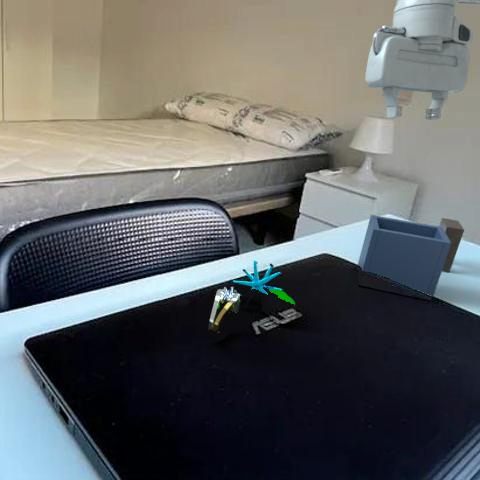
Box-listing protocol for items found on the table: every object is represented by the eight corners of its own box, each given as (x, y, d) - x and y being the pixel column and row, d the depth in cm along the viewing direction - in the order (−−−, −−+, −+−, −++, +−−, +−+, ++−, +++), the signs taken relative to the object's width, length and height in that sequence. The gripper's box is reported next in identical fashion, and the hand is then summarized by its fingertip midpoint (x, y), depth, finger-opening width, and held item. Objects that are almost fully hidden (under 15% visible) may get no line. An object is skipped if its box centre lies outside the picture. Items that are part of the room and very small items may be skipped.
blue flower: (221, 284, 80) (256, 249, 79) (239, 294, 86) (271, 261, 84) (271, 338, 73) (309, 301, 72) (286, 345, 78) (322, 311, 77)
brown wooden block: (444, 261, 102) (458, 220, 99) (449, 272, 97) (464, 229, 94) (428, 258, 103) (441, 217, 99) (432, 269, 98) (446, 226, 95)
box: (424, 282, 92) (442, 227, 88) (431, 301, 85) (451, 243, 81) (356, 268, 96) (370, 214, 91) (357, 286, 89) (373, 229, 84)
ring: (217, 355, 66) (225, 303, 63) (197, 345, 68) (204, 294, 65) (243, 334, 71) (252, 285, 68) (224, 325, 73) (232, 277, 70)
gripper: (392, 19, 74) (384, 115, 76) (480, 33, 82) (470, 119, 85) (359, 28, 79) (353, 117, 82) (444, 40, 88) (436, 121, 90)
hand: (413, 118), depth 83 cm, fingers open, 8 cm apart
